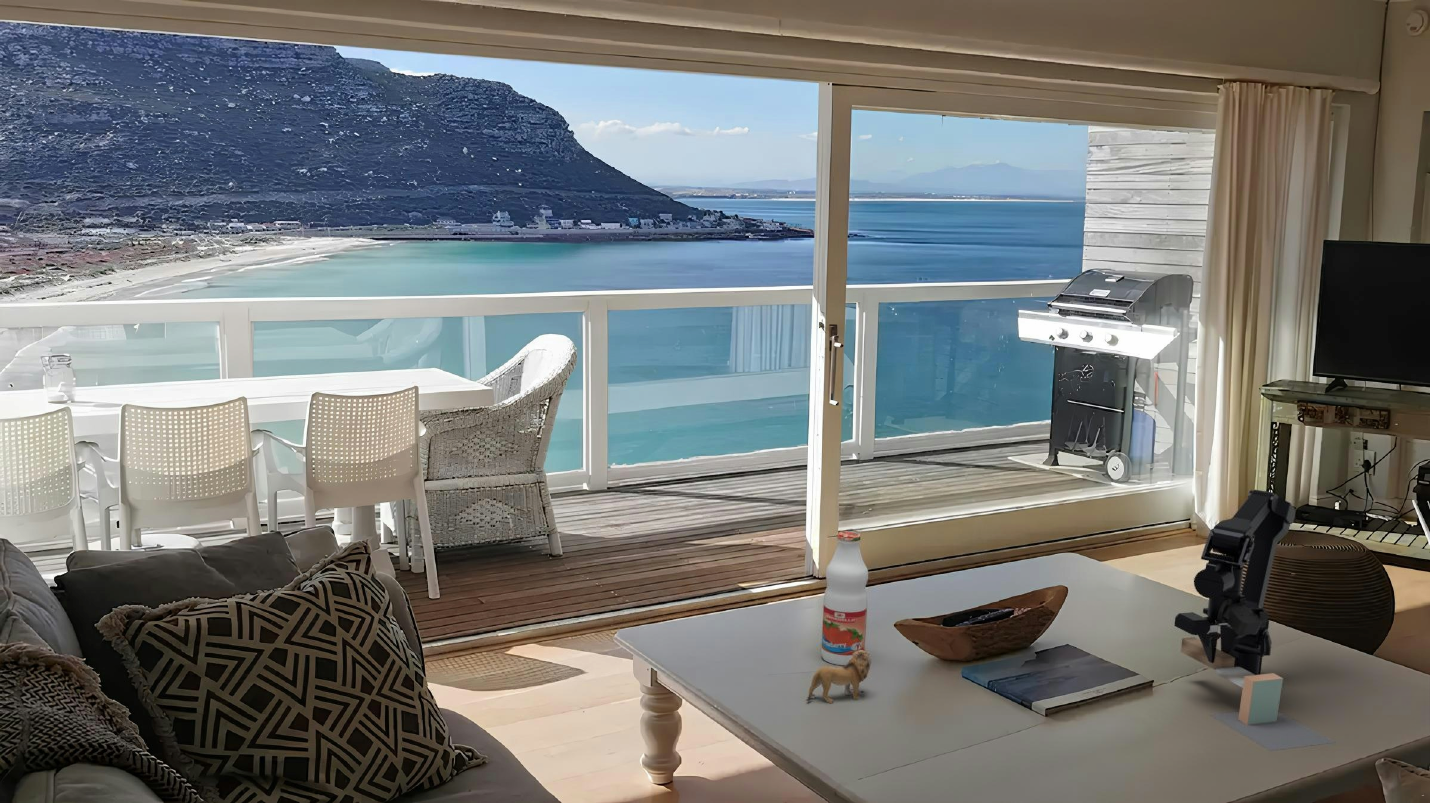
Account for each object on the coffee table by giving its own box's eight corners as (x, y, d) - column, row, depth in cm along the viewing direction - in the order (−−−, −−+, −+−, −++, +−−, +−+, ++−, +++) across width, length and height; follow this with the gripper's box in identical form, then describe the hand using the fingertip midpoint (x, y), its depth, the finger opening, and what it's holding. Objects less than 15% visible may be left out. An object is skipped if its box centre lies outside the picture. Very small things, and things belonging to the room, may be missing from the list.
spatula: (1175, 652, 243) (1177, 638, 242) (1197, 650, 244) (1199, 636, 244) (1244, 688, 224) (1246, 674, 223) (1268, 686, 225) (1269, 671, 225)
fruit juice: (870, 655, 253) (877, 532, 249) (855, 669, 245) (862, 541, 241) (830, 647, 258) (836, 525, 253) (814, 660, 249) (820, 535, 245)
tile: (1267, 715, 227) (1273, 673, 225) (1276, 721, 224) (1283, 678, 223) (1238, 719, 225) (1244, 676, 223) (1247, 725, 222) (1253, 681, 221)
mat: (1270, 710, 231) (1271, 707, 231) (1335, 744, 216) (1335, 742, 216) (1209, 717, 227) (1209, 714, 227) (1270, 753, 212) (1270, 750, 211)
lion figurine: (859, 686, 236) (862, 644, 235) (875, 696, 231) (877, 653, 230) (799, 698, 229) (801, 655, 228) (814, 708, 224) (816, 664, 223)
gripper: (1215, 603, 222) (1207, 680, 224) (1293, 597, 227) (1285, 672, 230) (1176, 585, 232) (1169, 659, 235) (1252, 580, 238) (1244, 652, 240)
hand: (1217, 661), depth 235 cm, fingers closed on spatula, 3 cm apart
